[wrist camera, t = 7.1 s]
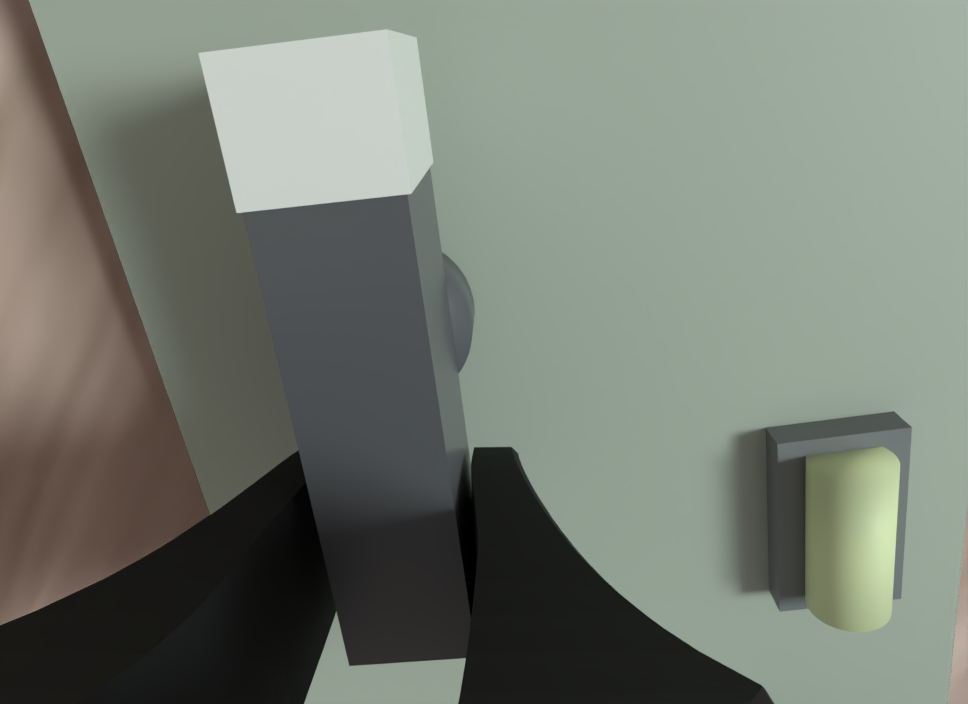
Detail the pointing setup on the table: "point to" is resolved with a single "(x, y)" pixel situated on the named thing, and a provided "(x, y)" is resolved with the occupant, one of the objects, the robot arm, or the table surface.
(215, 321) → the base plate
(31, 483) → the table surface
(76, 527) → the table surface
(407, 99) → the knob
